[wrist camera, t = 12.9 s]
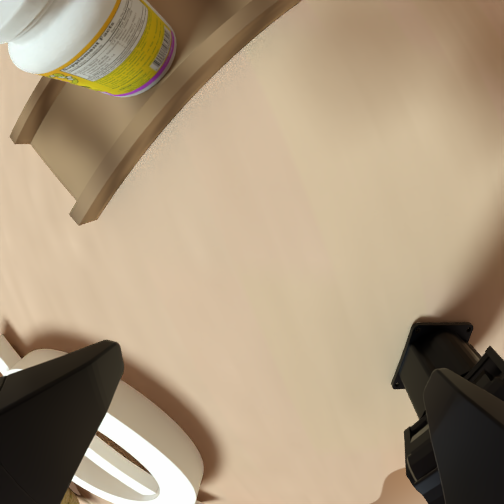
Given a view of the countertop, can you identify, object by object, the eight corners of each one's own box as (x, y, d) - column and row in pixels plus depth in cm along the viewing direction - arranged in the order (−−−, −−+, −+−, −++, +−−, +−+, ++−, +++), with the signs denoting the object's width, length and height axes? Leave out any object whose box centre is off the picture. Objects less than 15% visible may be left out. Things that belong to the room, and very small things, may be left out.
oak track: (96, 219, 20) (78, 225, 18) (27, 136, 19) (9, 136, 17) (299, 1, 15) (301, -16, 12) (192, -54, 13) (185, -69, 11)
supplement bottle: (89, 56, 16) (-34, 11, 4) (159, 6, 15) (63, -87, 3) (117, 117, 18) (-34, 94, 5) (195, 64, 16) (86, -40, 4)
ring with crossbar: (-3, 324, 26) (-26, 340, 22) (193, 379, 24) (178, 416, 19) (61, 456, 34) (49, 473, 29) (211, 505, 32) (205, 528, 27)
